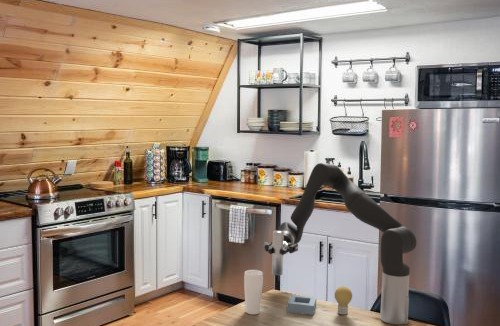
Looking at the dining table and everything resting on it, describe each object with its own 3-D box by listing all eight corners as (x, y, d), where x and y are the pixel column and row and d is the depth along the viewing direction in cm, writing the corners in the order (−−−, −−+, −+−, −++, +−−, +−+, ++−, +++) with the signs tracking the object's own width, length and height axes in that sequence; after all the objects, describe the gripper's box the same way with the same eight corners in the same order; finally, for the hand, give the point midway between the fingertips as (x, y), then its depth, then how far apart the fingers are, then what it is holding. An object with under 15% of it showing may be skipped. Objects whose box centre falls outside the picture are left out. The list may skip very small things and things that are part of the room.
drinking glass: (241, 314, 187) (242, 274, 186) (245, 308, 194) (246, 268, 193) (259, 316, 186) (260, 275, 185) (263, 310, 193) (264, 270, 191)
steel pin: (283, 272, 197) (284, 231, 196) (281, 275, 193) (282, 233, 192) (272, 271, 198) (274, 230, 196) (271, 274, 194) (272, 232, 193)
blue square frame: (316, 306, 198) (316, 297, 198) (313, 315, 189) (313, 305, 188) (291, 303, 200) (291, 294, 200) (287, 312, 191) (287, 303, 191)
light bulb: (350, 310, 194) (351, 284, 193) (352, 317, 188) (353, 290, 187) (333, 309, 195) (334, 283, 194) (334, 316, 188) (335, 289, 187)
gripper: (266, 231, 210) (258, 240, 193) (302, 233, 207) (296, 243, 190) (266, 249, 210) (257, 260, 194) (301, 252, 207) (295, 263, 191)
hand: (276, 251), depth 192 cm, fingers closed on steel pin, 4 cm apart
